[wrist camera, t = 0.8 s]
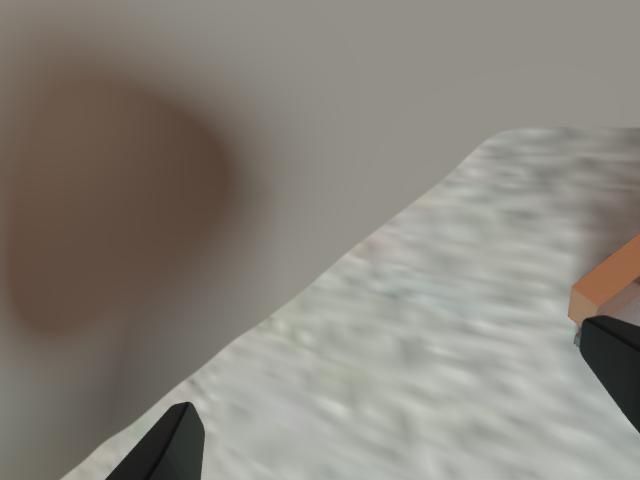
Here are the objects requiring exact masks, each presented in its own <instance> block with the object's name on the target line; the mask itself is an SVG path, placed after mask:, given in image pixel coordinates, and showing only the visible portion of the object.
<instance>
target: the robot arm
mask: <svg viewBox="0 0 640 480" xmlns="http://www.w3.org/2000/svg"><path fill="white" fill-rule="evenodd" d="M579 348H580V352H581V355H582V357H583V358H584V360H585V361H586V363H587V364H588V365H589V367H590V368H591V369H592V371H593V372H594V374H595V375H596V376H597V378H598V379H599V380H600V382H601V383H602V385H603V386H604V387H605V389H606V390H607V391H608V393H609V394H610V396H611V397H612V398H613V400H614V401H615V402H616V404H617V405H618V407H619V408H620V409H621V411H622V412H623V413H624V415H625V416H626V417H627V419H628V420H629V421H630V422H631V424H632V425H633V426H634V427H635V428H636V430H637V431H638V432H639V433H640V326H637V325H634V324H631V323H628V322H625V321H622V320H619V319H616V318H613V317H610V316H607V315H597V316H593V317H588V318H585V319H584V320H583V321H582V325H581V334H580V344H579ZM204 439H205V431H204V426H203V423H202V421H201V419H200V417H199V415H198V413H197V411H196V409H195V407H194V405H193V404H192V403H191V402H184V403H179V404H175V405H172V406H171V407H170V408H169V409H168V410H167V411H166V412H165V414H164V415H163V416H162V417H161V418H160V419H159V420H158V421H157V422H156V424H155V425H154V426H153V427H152V428H151V429H150V430H149V431H148V432H147V434H146V435H145V436H144V437H143V438H142V439H141V440H140V441H139V442H138V444H137V445H136V446H135V447H134V448H133V449H132V450H131V451H130V452H129V454H128V455H127V456H126V457H125V458H124V459H123V460H122V461H121V462H120V464H119V465H118V466H117V467H116V468H115V469H114V470H113V471H112V472H111V474H110V475H109V476H108V477H107V478H106V479H105V480H201V471H202V460H203V450H204Z"/></svg>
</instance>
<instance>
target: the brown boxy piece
mask: <svg viewBox="0 0 640 480" xmlns="http://www.w3.org/2000/svg"><path fill="white" fill-rule="evenodd" d="M597 315H607V316H610V317H613V318H616V319H619V320H622V321H625V322H628V323H631V324H634V325H637V326H640V233H639V234H638V235H637V236H635V237H634V238H633V239H632V240H630V241H629V242H628V243H626V244H625V245H624V246H623V247H621V248H620V249H619V250H618V251H616V252H615V253H614V254H612V255H611V256H610V257H609V258H607V259H606V260H605V261H604V262H602V263H601V264H600V265H598V266H597V267H596V268H595V269H593V270H592V271H591V272H590V273H588V274H587V275H586V276H584V277H583V278H582V279H581V280H579V281H578V282H577V283H576V284H574V285H573V286H572V287H571V295H570V302H569V310H568V317H569V318H570V319H571V320H573V321H574V322H575V323H576V324H577V325H579V326H580V327H581V325H582V321H583V320H584V319H585V318H588V317H593V316H597Z"/></svg>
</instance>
